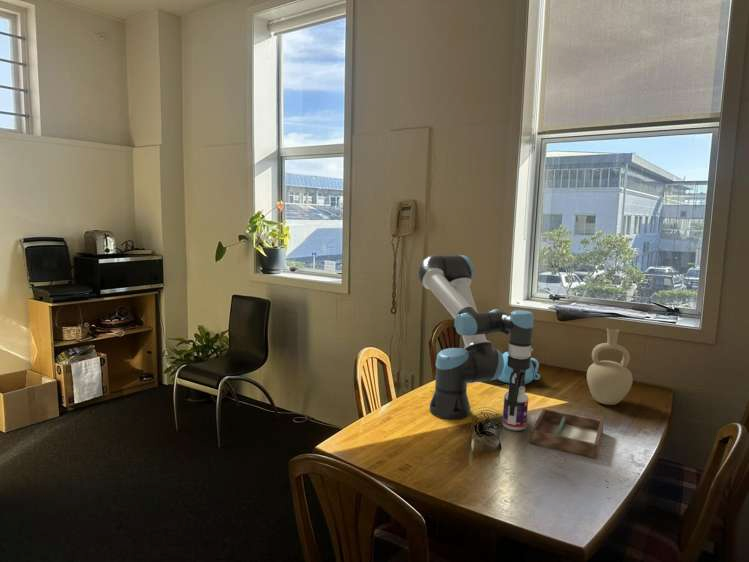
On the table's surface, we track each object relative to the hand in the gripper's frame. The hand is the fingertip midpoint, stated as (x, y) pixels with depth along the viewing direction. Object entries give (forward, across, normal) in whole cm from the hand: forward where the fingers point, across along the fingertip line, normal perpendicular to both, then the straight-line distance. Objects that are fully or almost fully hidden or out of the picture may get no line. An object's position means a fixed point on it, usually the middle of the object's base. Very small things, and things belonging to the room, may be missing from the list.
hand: (514, 419), depth 176 cm
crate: (+3, +2, -17) cm, 18 cm away
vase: (+4, +46, -26) cm, 53 cm away
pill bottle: (+3, 0, 0) cm, 3 cm away
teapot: (+4, +55, +14) cm, 57 cm away
